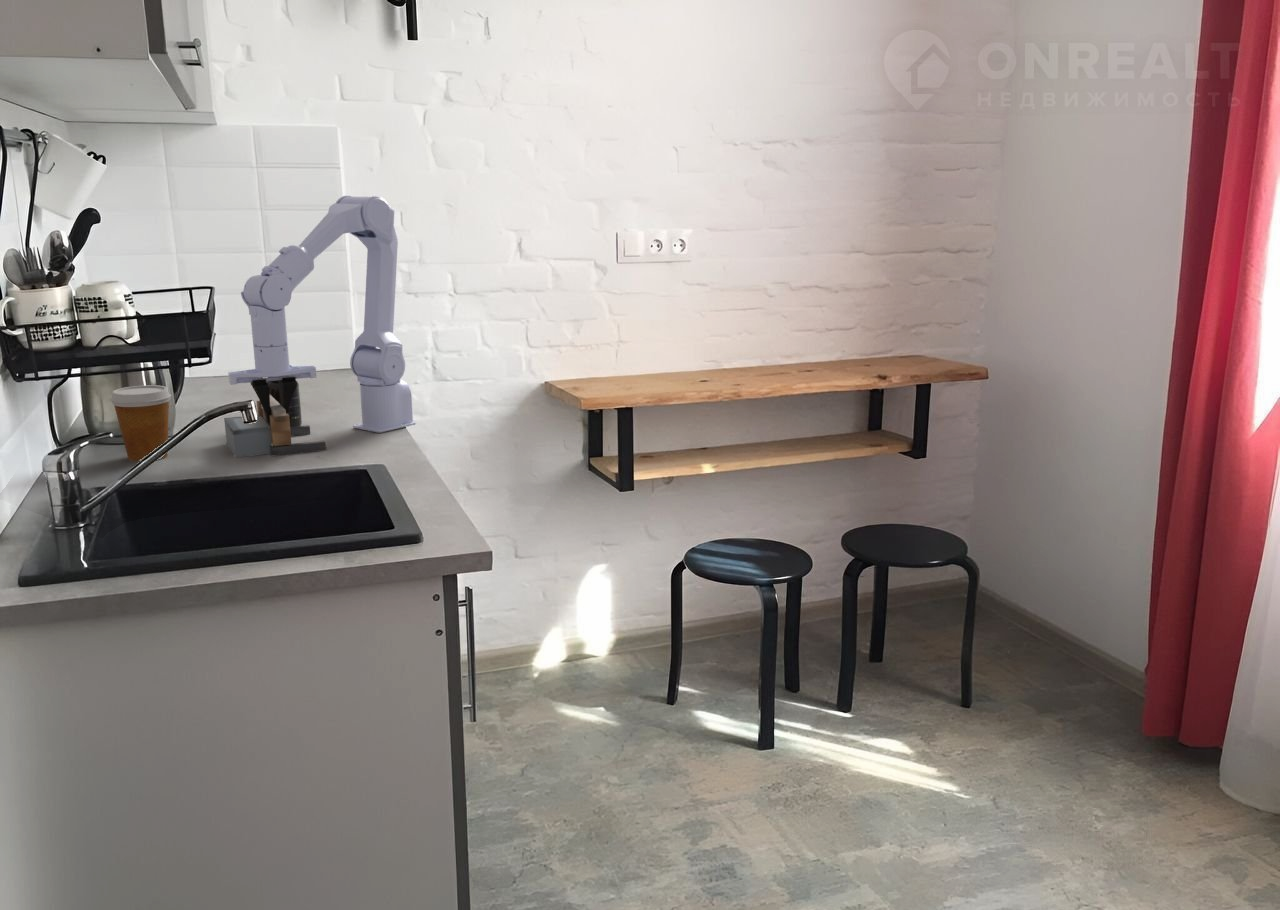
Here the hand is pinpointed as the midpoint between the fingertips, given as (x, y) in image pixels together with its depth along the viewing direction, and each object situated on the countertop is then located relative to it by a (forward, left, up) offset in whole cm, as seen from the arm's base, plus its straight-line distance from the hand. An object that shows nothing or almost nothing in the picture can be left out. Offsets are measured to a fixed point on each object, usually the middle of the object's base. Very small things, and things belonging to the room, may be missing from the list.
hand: (277, 420), depth 191 cm
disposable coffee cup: (+17, -14, -6) cm, 23 cm away
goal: (+2, -5, -5) cm, 8 cm away
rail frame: (-4, -3, -5) cm, 7 cm away
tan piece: (-2, -4, -5) cm, 7 cm away
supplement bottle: (-12, -16, -6) cm, 20 cm away
